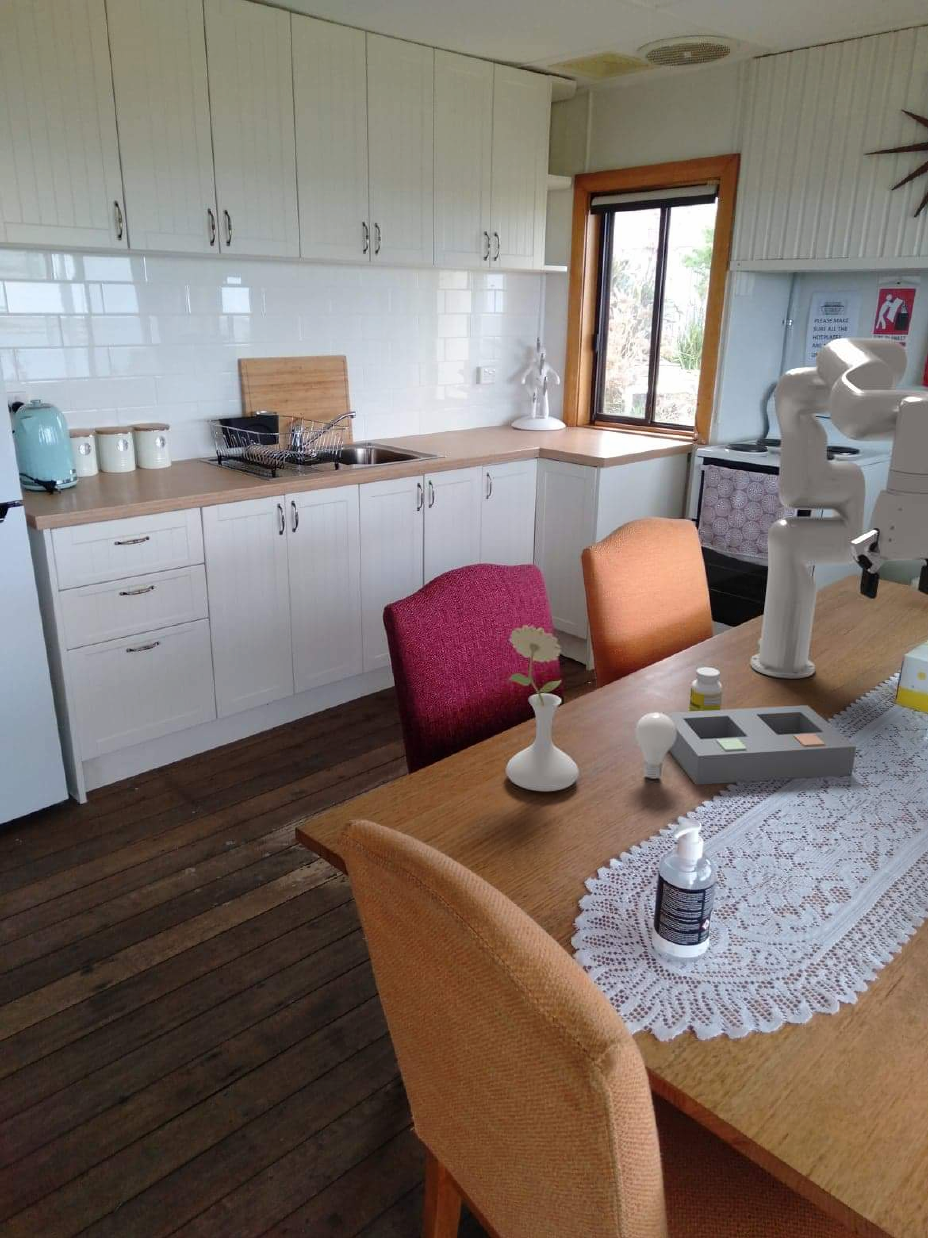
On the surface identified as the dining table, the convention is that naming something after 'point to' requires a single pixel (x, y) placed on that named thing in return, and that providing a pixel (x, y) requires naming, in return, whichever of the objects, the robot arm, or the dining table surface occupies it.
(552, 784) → the flower in vase
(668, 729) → the lightbulb
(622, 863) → the dining table surface
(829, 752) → the socket board
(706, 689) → the supplement bottle
